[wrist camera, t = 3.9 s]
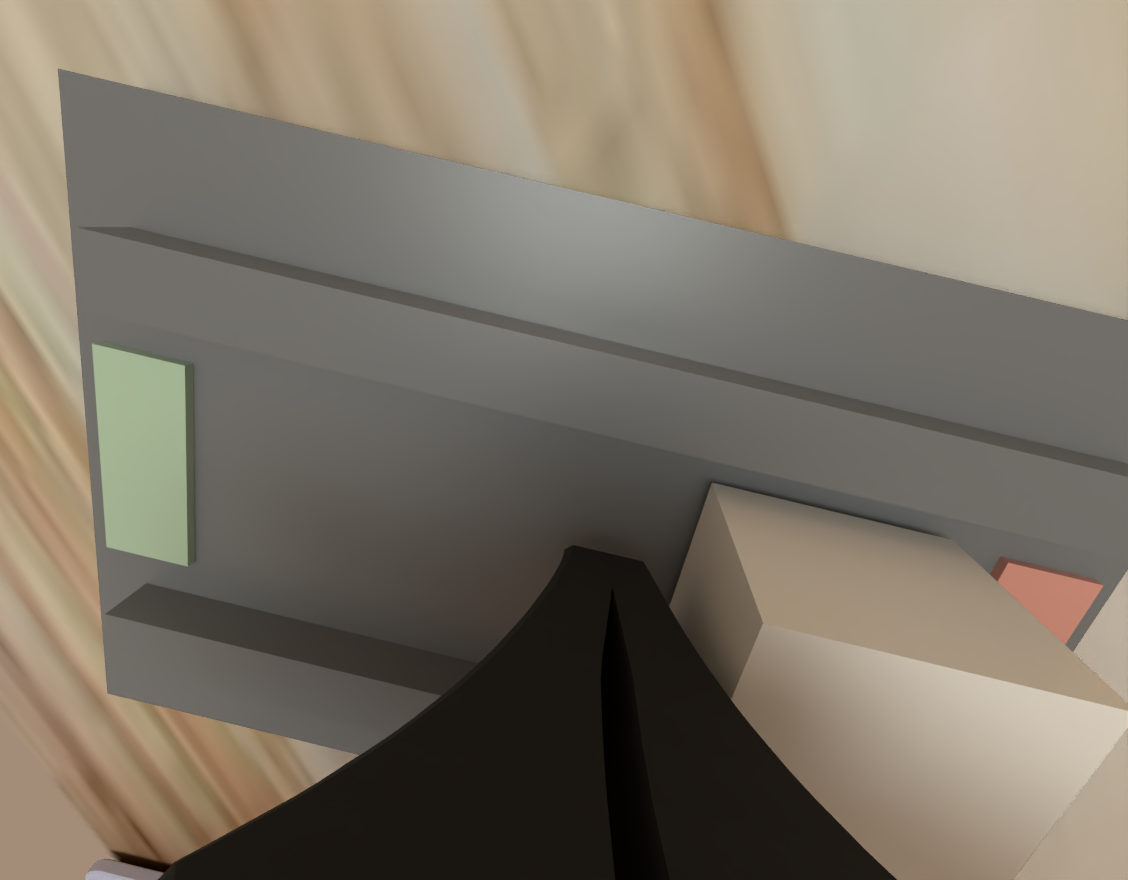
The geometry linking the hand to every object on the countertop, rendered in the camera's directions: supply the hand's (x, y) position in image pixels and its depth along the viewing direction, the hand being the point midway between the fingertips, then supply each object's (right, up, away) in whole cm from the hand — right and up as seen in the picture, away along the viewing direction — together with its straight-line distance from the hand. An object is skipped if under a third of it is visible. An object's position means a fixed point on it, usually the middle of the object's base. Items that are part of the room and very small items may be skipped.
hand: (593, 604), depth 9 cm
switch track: (0, +1, +3) cm, 3 cm away
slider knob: (+3, -1, +1) cm, 4 cm away
